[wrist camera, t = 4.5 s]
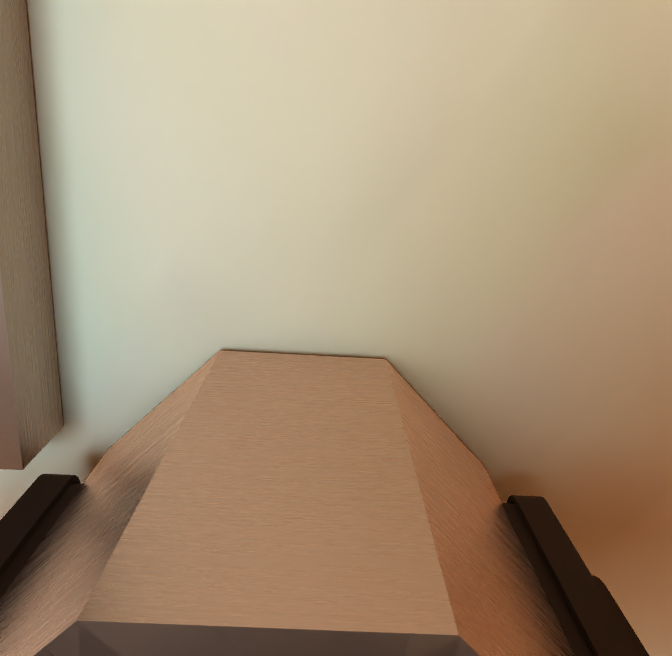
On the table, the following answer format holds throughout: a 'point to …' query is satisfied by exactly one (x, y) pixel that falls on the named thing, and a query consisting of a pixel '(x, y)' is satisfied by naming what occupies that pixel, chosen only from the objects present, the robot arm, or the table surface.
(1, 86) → the shaft block
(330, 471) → the hub ring
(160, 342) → the table surface
